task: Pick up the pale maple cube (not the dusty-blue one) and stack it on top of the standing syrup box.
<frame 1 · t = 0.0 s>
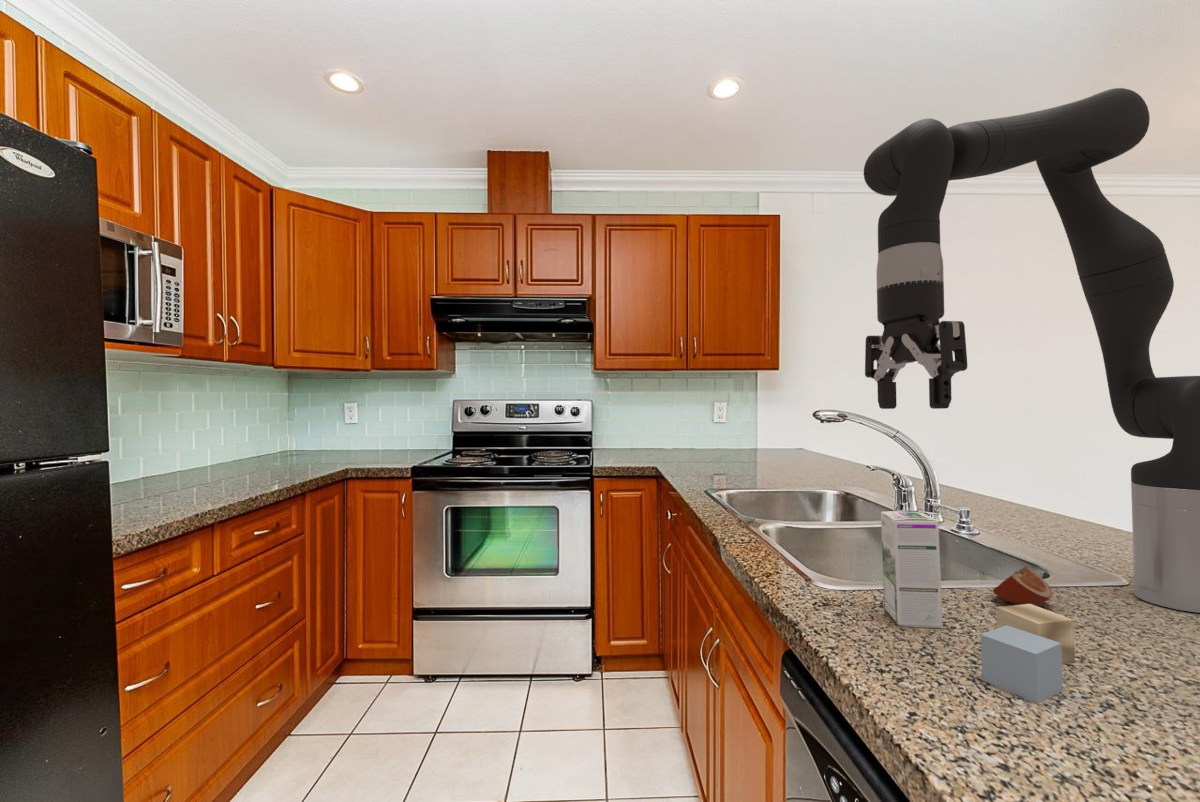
hand: (911, 408, 68), 29 cm above the countertop, tool pointing down, fingers open, 8 cm apart
maple block: (1034, 655, 61), on the countertop
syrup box: (911, 620, 72), on the countertop
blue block: (1021, 686, 55), on the countertop
fruit slice: (1022, 605, 77), on the countertop
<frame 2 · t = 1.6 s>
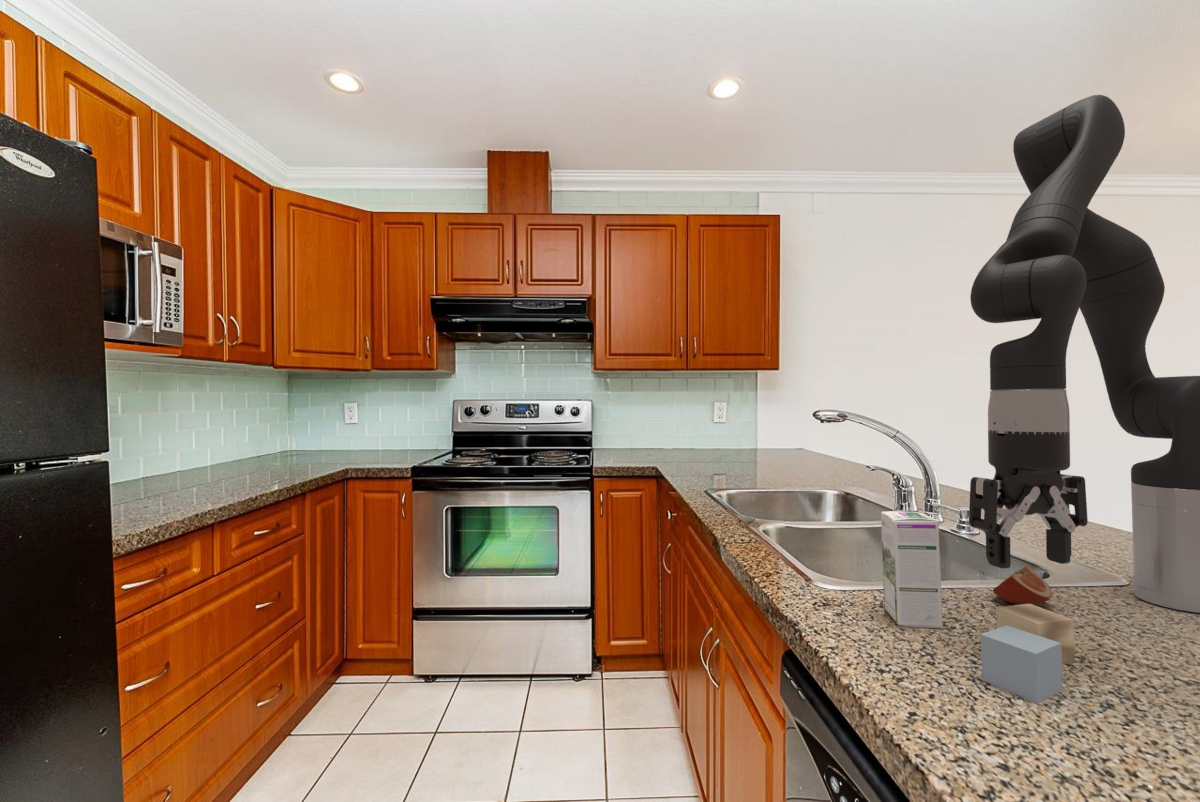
hand: (1028, 564, 62), 11 cm above the countertop, tool pointing down, fingers open, 8 cm apart
nothing on the countertop moved.
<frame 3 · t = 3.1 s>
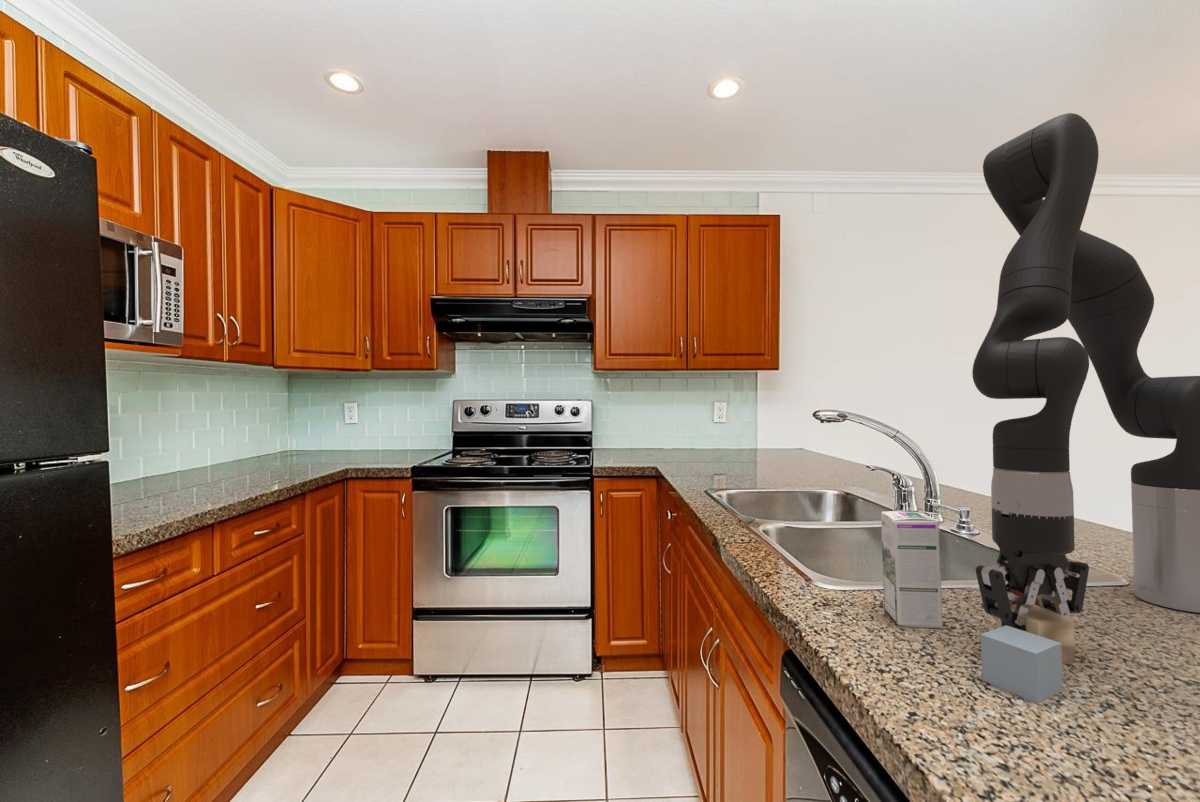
hand: (1034, 650, 61), 0 cm above the countertop, tool pointing down, fingers closed on maple block, 5 cm apart
maple block: (1034, 654, 61), on the countertop, touching gripper
everything else where it was.
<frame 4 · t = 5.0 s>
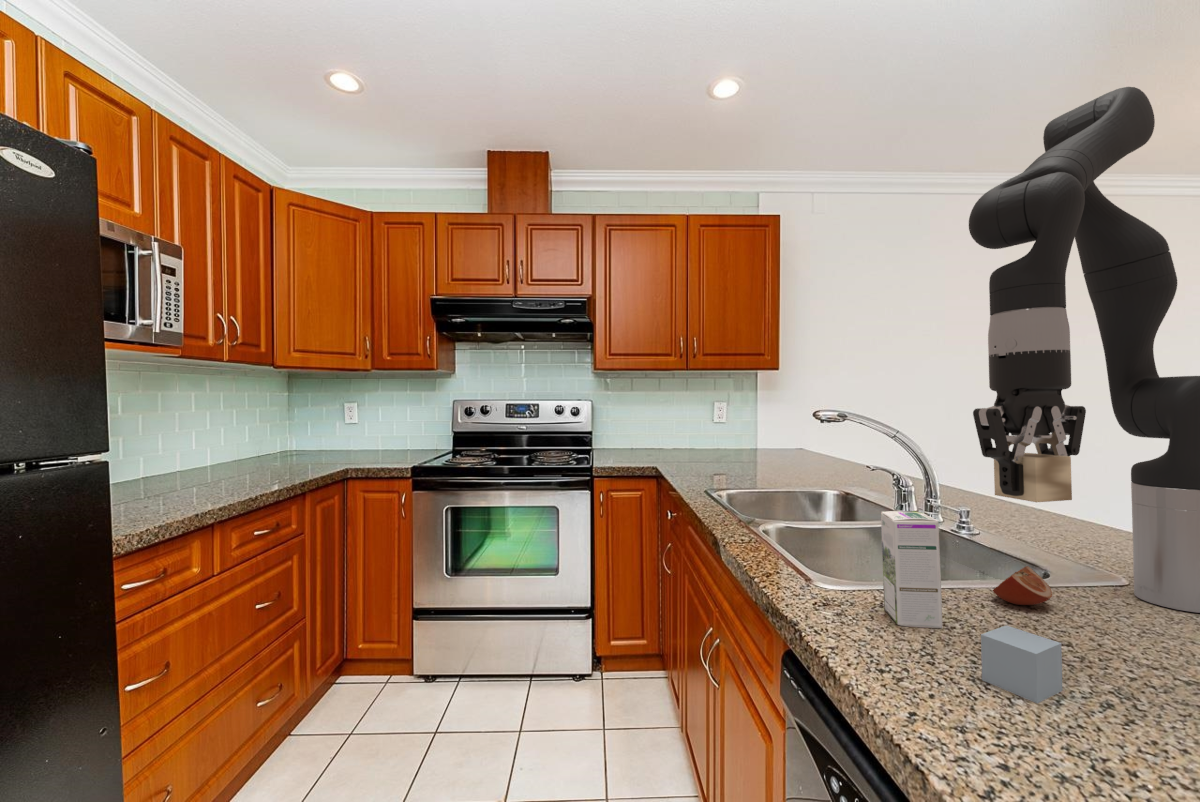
hand: (1031, 492, 62), 19 cm above the countertop, tool pointing down, fingers closed on maple block, 5 cm apart
maple block: (1032, 497, 62), point 19 cm above the countertop, touching gripper
everything else where it was.
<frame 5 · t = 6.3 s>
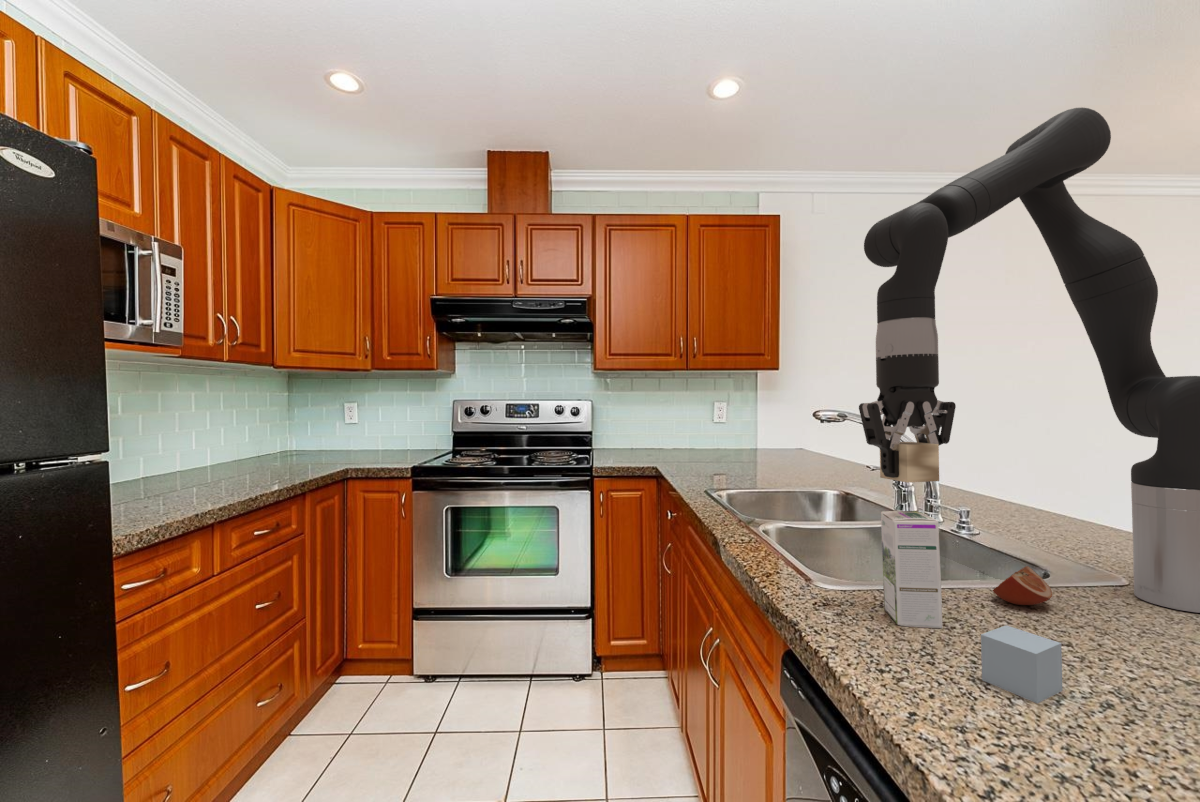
hand: (908, 475, 72), 20 cm above the countertop, tool pointing down, fingers closed on maple block, 5 cm apart
maple block: (908, 479, 72), point 19 cm above the countertop, touching gripper
everything else where it was.
when the fingers open (17 cm above the countertop, at t = 7.2 s): maple block drops 2 cm, resting on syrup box.
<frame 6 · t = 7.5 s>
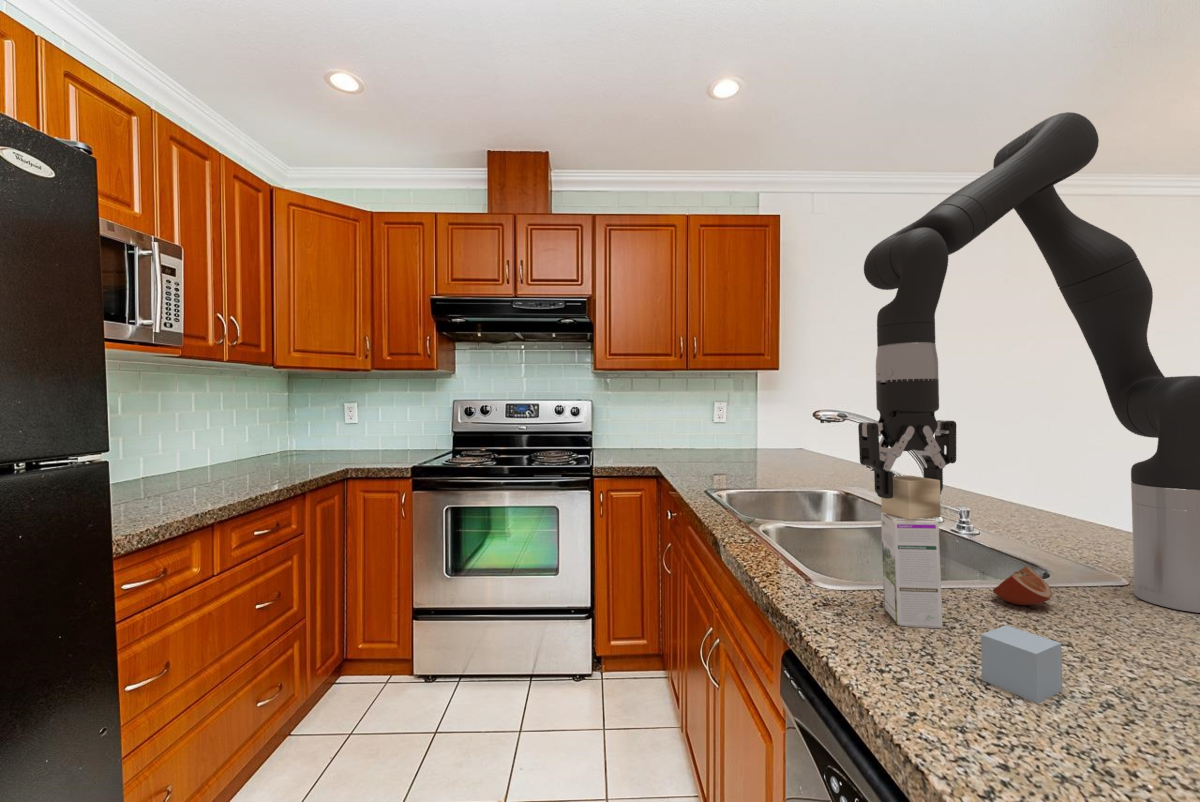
hand: (908, 496, 72), 17 cm above the countertop, tool pointing down, fingers open, 7 cm apart
maple block: (910, 514, 72), point 14 cm above the countertop, touching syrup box
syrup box: (911, 620, 72), on the countertop, touching maple block
everything else where it was.
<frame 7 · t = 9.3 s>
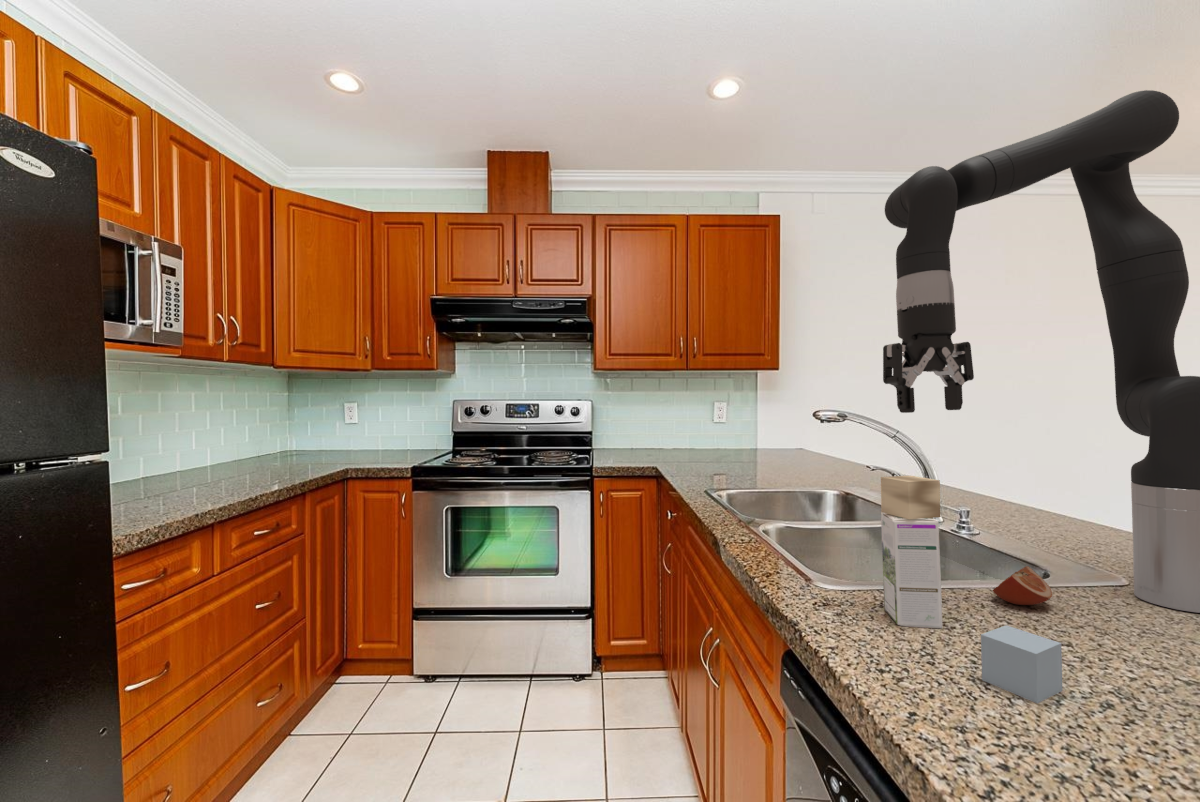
hand: (930, 411, 79), 29 cm above the countertop, tool pointing down, fingers open, 8 cm apart
nothing on the countertop moved.
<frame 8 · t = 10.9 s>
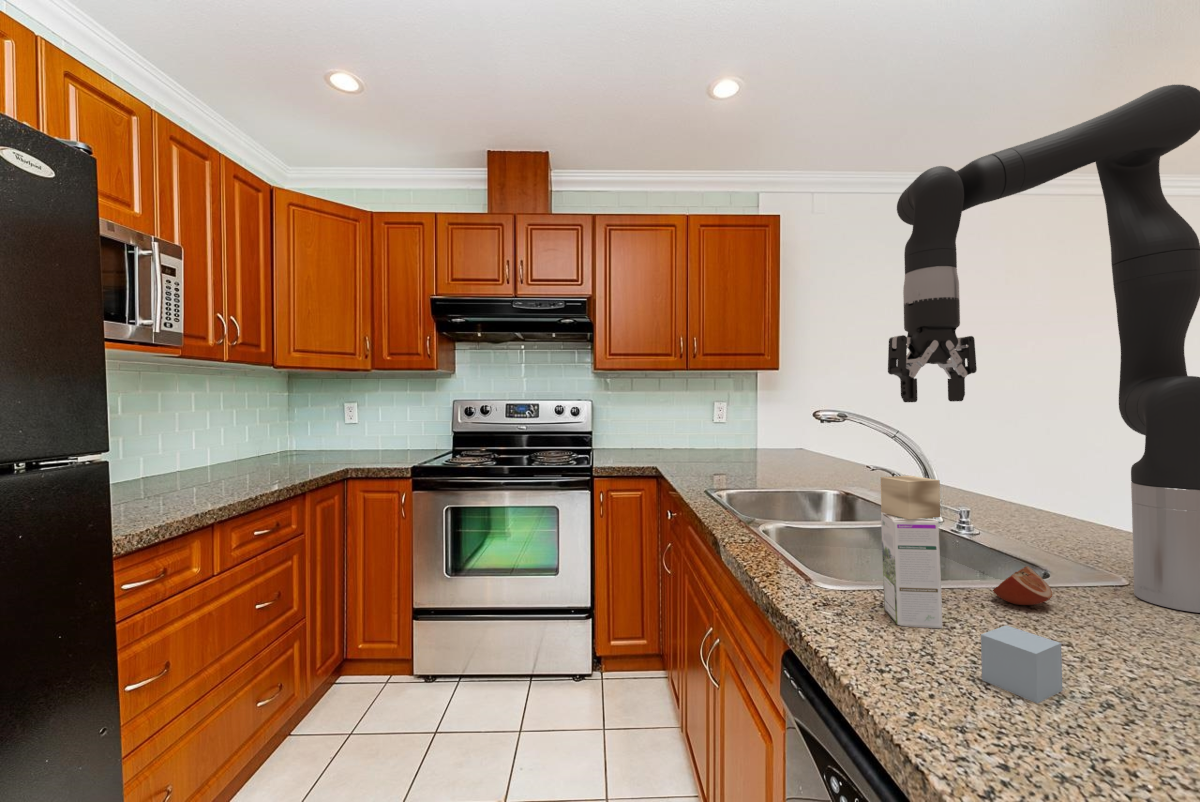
hand: (933, 401, 82), 30 cm above the countertop, tool pointing down, fingers open, 8 cm apart
nothing on the countertop moved.
at the end: maple block 0.1 cm off-centre on the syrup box, point 14.7 cm above the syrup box's base; the gripper is holding nothing; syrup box tilted 0° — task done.
